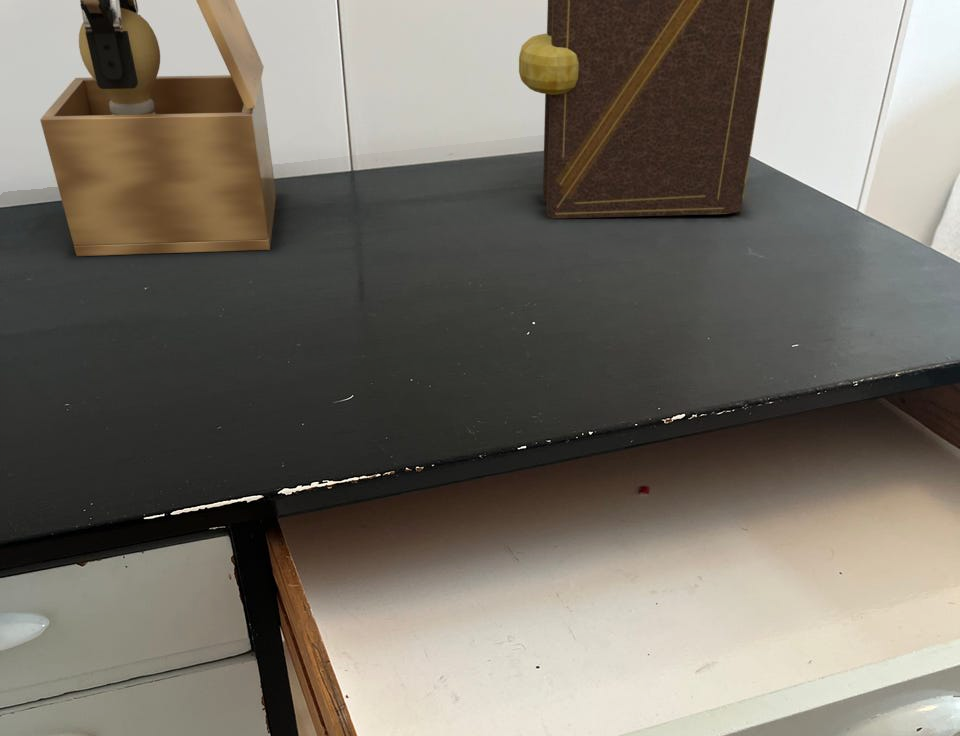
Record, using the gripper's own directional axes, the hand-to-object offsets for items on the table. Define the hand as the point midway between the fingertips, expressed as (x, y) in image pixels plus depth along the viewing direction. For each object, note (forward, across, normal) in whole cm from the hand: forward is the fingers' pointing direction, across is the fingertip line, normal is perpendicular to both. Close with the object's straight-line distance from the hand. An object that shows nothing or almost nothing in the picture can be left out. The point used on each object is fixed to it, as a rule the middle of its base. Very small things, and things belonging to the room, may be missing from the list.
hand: (124, 75), depth 82 cm
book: (+12, -1, +46) cm, 47 cm away
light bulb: (+5, 0, 0) cm, 5 cm away
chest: (+12, 0, +2) cm, 13 cm away
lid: (-7, 0, +8) cm, 10 cm away
